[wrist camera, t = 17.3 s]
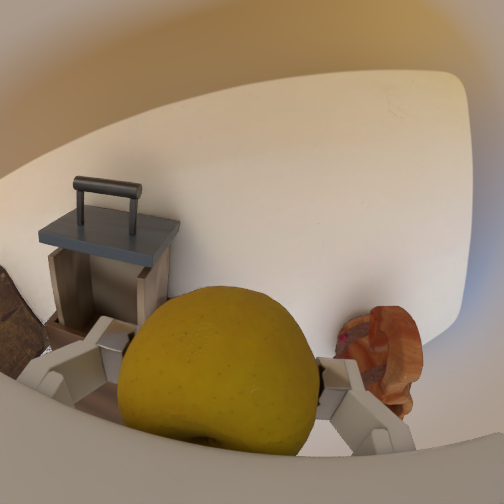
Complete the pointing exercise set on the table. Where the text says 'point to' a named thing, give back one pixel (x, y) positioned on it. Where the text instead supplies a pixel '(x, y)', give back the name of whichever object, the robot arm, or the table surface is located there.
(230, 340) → the apple
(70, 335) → the cabinet
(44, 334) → the book
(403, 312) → the mug
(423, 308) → the table surface
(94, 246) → the drawer
